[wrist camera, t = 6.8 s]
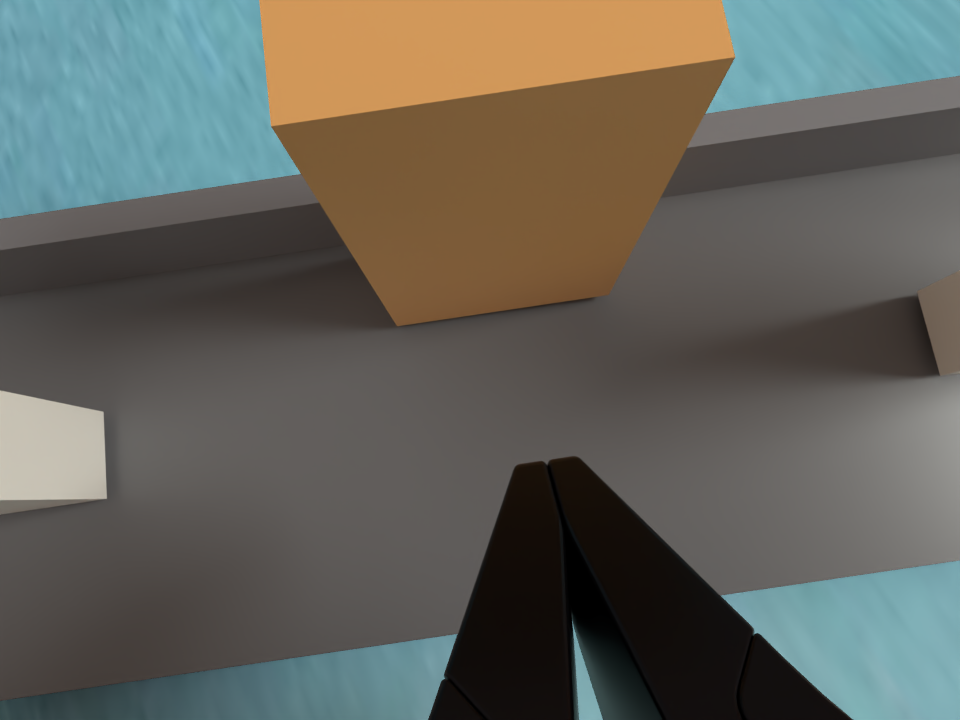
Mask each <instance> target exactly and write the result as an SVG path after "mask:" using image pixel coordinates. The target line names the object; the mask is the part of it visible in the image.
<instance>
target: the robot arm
mask: <svg viewBox="0 0 960 720" xmlns="http://www.w3.org/2000/svg"><path fill="white" fill-rule="evenodd" d="M572 621H573V625H574V629H575V632H576V636H577V639H578V643H579V646H580V649H581V652H582V655H583V659H584V662H585V665H586V668H587V671H588V674H589V677H590V680H591V683H592V687H593V690H594V693H595V696H596V699H597V702H598V705H599V708H600V711H601V714H602V718H603V720H853V719H852V718H850V717H849V716H848V715H847V714H846V713H844V712H843V711H842V710H841V709H840V708H839V707H837V706H836V705H835V704H834V703H833V702H831V701H830V700H829V699H828V698H827V697H825V696H824V695H823V694H822V693H821V692H820V691H819V690H818V689H817V688H816V687H815V686H814V685H812V684H811V683H810V682H809V681H808V680H807V679H806V678H805V677H804V676H803V675H802V674H801V673H800V672H798V671H797V670H796V669H795V668H794V667H793V666H792V665H791V664H790V663H789V662H788V661H787V660H786V659H784V658H783V657H782V656H781V655H780V654H779V653H778V652H777V651H776V650H775V649H774V648H773V647H772V646H771V645H770V644H769V643H768V642H767V641H766V640H765V639H764V638H763V637H762V636H761V635H760V634H758V633H757V634H754V629H753V627H752V626H751V625H750V624H749V623H748V622H747V621H746V620H745V619H744V618H743V617H742V616H741V615H740V614H739V613H738V612H736V611H735V610H734V609H733V608H732V607H731V606H730V605H729V604H728V603H727V602H726V601H725V600H724V599H723V598H722V597H721V596H720V595H719V594H718V593H717V592H716V591H715V590H714V589H713V588H712V587H711V586H710V585H709V584H708V583H707V582H706V581H705V580H704V579H703V578H702V577H701V576H700V575H699V574H698V573H697V572H696V571H695V570H694V569H693V568H692V567H691V566H690V565H689V564H688V563H687V562H686V561H685V560H684V559H683V558H682V557H680V556H679V555H678V554H677V553H676V552H675V551H674V550H673V549H672V548H671V547H670V546H669V545H668V544H667V543H666V542H665V541H664V540H663V539H662V538H661V537H660V536H659V535H658V534H657V533H656V532H655V531H654V530H653V529H652V528H651V527H650V526H649V525H648V524H647V523H646V522H645V521H644V520H643V519H642V518H641V517H640V516H639V515H638V514H637V513H636V512H635V511H634V510H633V509H632V508H631V507H630V506H629V505H628V504H627V503H626V502H625V501H623V500H622V499H621V498H620V497H619V496H618V495H617V494H616V493H615V492H614V491H613V490H612V489H611V488H610V487H609V486H608V485H607V484H606V483H605V482H604V481H603V480H602V479H601V478H600V477H599V476H598V475H597V474H596V473H595V472H594V471H593V470H592V469H591V468H590V467H589V466H588V465H587V464H586V463H585V462H584V461H583V460H582V459H581V458H579V457H577V456H570V457H563V458H556V459H551V460H549V461H548V464H546V463H545V462H544V461H536V462H529V463H522V464H518V465H516V466H515V468H514V469H513V472H512V475H511V478H510V481H509V484H508V487H507V490H506V493H505V496H504V499H503V502H502V505H501V507H500V510H499V513H498V516H497V519H496V522H495V525H494V528H493V531H492V534H491V537H490V540H489V543H488V546H487V549H486V552H485V555H484V558H483V561H482V564H481V567H480V570H479V573H478V575H477V578H476V581H475V584H474V587H473V590H472V593H471V596H470V599H469V602H468V605H467V608H466V611H465V614H464V617H463V620H462V623H461V626H460V629H459V632H458V635H457V638H456V641H455V644H454V646H453V649H452V652H451V655H450V658H449V661H448V664H447V667H446V670H445V673H444V677H445V679H444V680H442V681H441V684H440V687H439V690H438V693H437V696H436V699H435V702H434V705H433V707H432V710H431V713H430V716H429V718H428V720H579V712H578V697H577V681H576V666H575V650H574V638H573V626H572Z"/></svg>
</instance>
